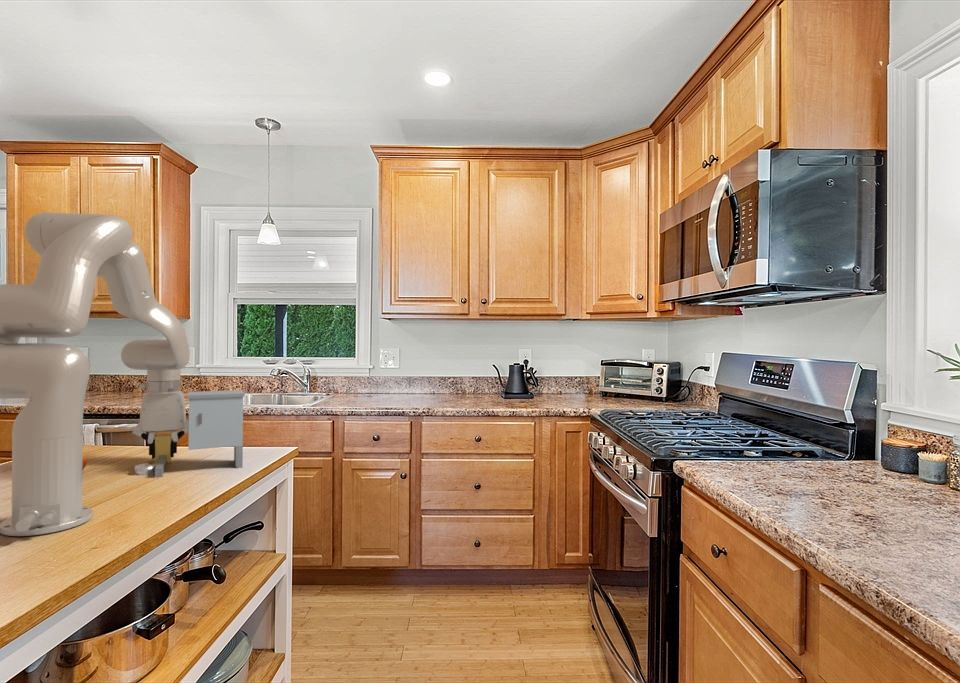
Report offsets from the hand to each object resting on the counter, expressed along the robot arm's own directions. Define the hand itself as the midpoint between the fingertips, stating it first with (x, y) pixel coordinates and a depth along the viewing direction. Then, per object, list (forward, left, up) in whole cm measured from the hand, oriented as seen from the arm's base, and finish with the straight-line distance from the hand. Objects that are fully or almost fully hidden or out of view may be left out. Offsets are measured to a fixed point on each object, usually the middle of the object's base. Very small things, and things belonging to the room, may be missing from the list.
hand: (163, 456), depth 136 cm
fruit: (-7, +19, -2) cm, 20 cm away
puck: (-11, +3, -2) cm, 11 cm away
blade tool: (-7, 0, -1) cm, 7 cm away
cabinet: (-11, -12, -1) cm, 16 cm away
